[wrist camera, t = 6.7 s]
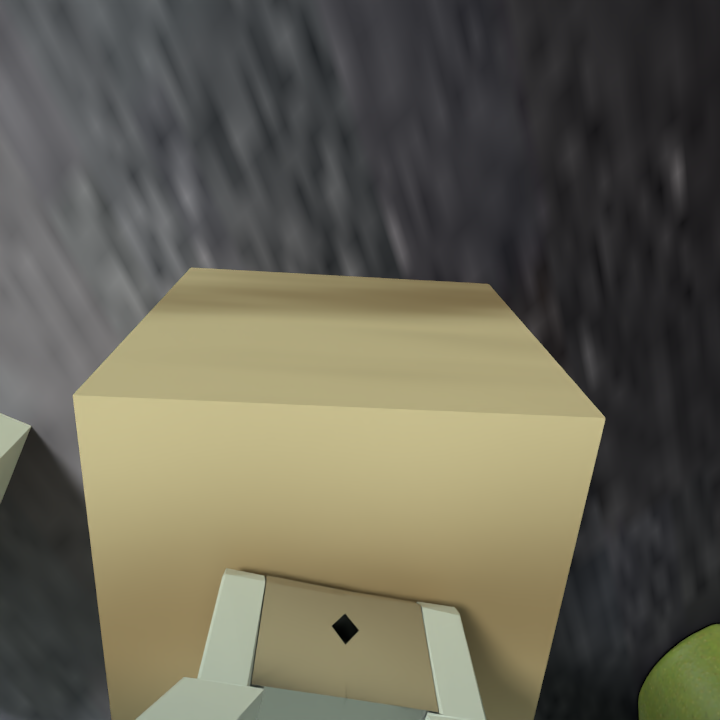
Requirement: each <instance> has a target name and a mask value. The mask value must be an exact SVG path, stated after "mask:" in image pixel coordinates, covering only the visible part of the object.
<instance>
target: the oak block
mask: <svg viewBox="0 0 720 720" xmlns="http://www.w3.org/2000/svg"><path fill="white" fill-rule="evenodd" d="M73 401H74V409H75V418H76V426H77V434H78V443H79V451H80V459H81V468H82V476H83V484H84V493H85V501H86V510H87V518H88V526H89V535H90V543H91V551H92V560H93V568H94V577H95V585H96V593H97V602H98V610H99V618H100V627H101V635H102V643H103V652H104V660H105V669H106V677H107V685H108V694H109V702H110V710H111V719H112V720H135V719H136V718H138V717H139V716H140V715H141V714H142V713H143V712H144V711H146V710H147V709H148V708H149V707H150V706H151V705H152V704H153V703H155V702H156V701H157V700H158V699H159V698H160V697H161V696H163V695H164V694H165V693H166V692H167V691H168V690H169V689H171V688H172V687H173V686H174V685H175V684H176V683H177V682H179V681H180V680H181V679H182V678H183V677H188V678H196V679H197V677H198V673H199V669H200V665H201V661H202V657H203V653H204V649H205V645H206V641H207V637H208V633H209V628H210V624H211V620H212V616H213V612H214V608H215V604H216V600H217V596H218V592H219V588H220V584H221V580H222V576H223V574H224V572H225V570H226V568H228V569H233V570H238V571H244V572H249V573H254V574H259V575H264V576H265V579H266V576H267V575H268V576H273V577H278V578H283V579H289V580H294V581H299V582H304V583H309V584H314V585H319V586H324V587H329V588H335V589H340V590H346V591H352V592H358V593H364V594H370V595H376V596H382V597H389V598H395V599H401V600H407V601H413V602H424V603H431V604H438V605H444V606H451V607H455V608H456V609H457V611H458V612H459V613H460V617H461V621H462V624H463V628H464V632H465V636H466V640H467V644H468V648H469V652H470V656H471V660H472V664H473V668H474V672H475V676H476V680H477V684H478V687H479V691H480V695H481V699H482V703H483V707H484V711H485V715H486V719H487V720H534V716H535V711H536V707H537V703H538V699H539V695H540V690H541V686H542V682H543V678H544V674H545V670H546V665H547V661H548V657H549V653H550V649H551V644H552V640H553V636H554V632H555V628H556V623H557V619H558V615H559V611H560V607H561V603H562V598H563V594H564V590H565V586H566V582H567V577H568V573H569V569H570V565H571V561H572V557H573V552H574V548H575V544H576V540H577V536H578V531H579V527H580V523H581V519H582V515H583V510H584V506H585V502H586V498H587V494H588V490H589V485H590V481H591V477H592V473H593V469H594V464H595V460H596V456H597V452H598V448H599V443H600V439H601V435H602V431H603V427H604V423H605V417H604V416H603V414H602V413H601V412H600V411H599V410H598V409H597V408H596V406H595V405H594V404H593V403H592V402H591V401H590V400H589V398H588V397H587V396H586V395H585V394H584V393H583V392H582V390H581V389H580V388H579V387H578V386H577V385H576V384H575V382H574V381H573V380H572V379H571V378H570V377H569V376H568V374H567V373H566V372H565V371H564V370H563V369H562V368H561V366H560V365H559V364H558V363H557V362H556V361H555V360H554V358H553V357H552V356H551V355H550V354H549V353H548V351H547V350H546V349H545V348H544V347H543V346H542V345H541V343H540V342H539V341H538V340H537V339H536V338H535V337H534V335H533V334H532V333H531V332H530V331H529V330H528V329H527V327H526V326H525V325H524V324H523V323H522V322H521V321H520V319H519V318H518V317H517V316H516V315H515V314H514V313H513V311H512V310H511V309H510V308H509V307H508V306H507V305H506V303H505V302H504V301H503V300H502V299H501V298H500V297H499V295H498V294H497V293H496V292H495V291H494V290H493V289H492V287H491V286H490V285H489V284H479V283H461V282H442V281H424V280H406V279H388V278H370V277H351V276H333V275H315V274H297V273H279V272H261V271H242V270H224V269H206V268H190V269H189V270H188V271H187V272H186V273H185V274H184V276H183V277H182V278H181V279H180V280H179V281H178V282H177V283H176V284H175V285H174V286H173V287H172V289H171V290H170V291H169V292H168V293H167V294H166V295H165V296H164V297H163V298H162V299H161V300H160V302H159V303H158V304H157V305H156V306H155V307H154V308H153V309H152V310H151V311H150V312H149V313H148V314H147V316H146V317H145V318H144V319H143V320H142V321H141V322H140V323H139V324H138V325H137V326H136V327H135V329H134V330H133V331H132V332H131V333H130V334H129V335H128V336H127V337H126V338H125V339H124V340H123V342H122V343H121V344H120V345H119V346H118V347H117V348H116V349H115V350H114V351H113V352H112V353H111V354H110V356H109V357H108V358H107V359H106V360H105V361H104V362H103V363H102V364H101V365H100V366H99V367H98V369H97V370H96V371H95V372H94V373H93V374H92V375H91V376H90V377H89V378H88V379H87V380H86V381H85V383H84V384H83V385H82V386H81V387H80V388H79V389H78V390H77V391H76V392H75V393H74V394H73Z"/></svg>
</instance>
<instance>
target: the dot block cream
mask: <svg viewBox="0 0 720 720" xmlns="http://www.w3.org/2000/svg"><path fill="white" fill-rule="evenodd" d="M30 428H31V426H30V425H27V424H25V423H23V422H20V421H18V420H15V419H13V418H11V417H8V416H6V415H3V414H1V413H0V504H1V501H2V499H3V496H4V494H5V491H6V489H7V486H8V484H9V481H10V479H11V476H12V474H13V471H14V469H15V466H16V464H17V461H18V458H19V456H20V453H21V451H22V448H23V446H24V443H25V441H26V438H27V436H28V433H29V431H30Z"/></svg>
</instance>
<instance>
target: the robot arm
mask: <svg viewBox="0 0 720 720" xmlns="http://www.w3.org/2000/svg"><path fill="white" fill-rule="evenodd" d="M135 720H487V719H486V715H485V711H484V707H483V703H482V699H481V695H480V691H479V687H478V684H477V680H476V676H475V672H474V668H473V664H472V660H471V656H470V652H469V648H468V644H467V640H466V636H465V632H464V628H463V624H462V621H461V617H460V613H459V612H458V611H457V609H456V608H455V607H451V606H444V605H438V604H431V603H424V602H413V601H407V600H401V599H395V598H389V597H382V596H376V595H370V594H364V593H358V592H352V591H346V590H340V589H335V588H329V587H324V586H319V585H314V584H309V583H304V582H299V581H294V580H289V579H283V578H278V577H273V576H268V575H267V576H266V579H265V576H264V575H259V574H254V573H249V572H244V571H238V570H233V569H228V568H226V570H225V572H224V574H223V576H222V580H221V584H220V588H219V592H218V596H217V600H216V604H215V608H214V612H213V616H212V620H211V624H210V628H209V633H208V637H207V641H206V645H205V649H204V653H203V657H202V661H201V665H200V669H199V673H198V677H197V679H196V678H188V677H183V678H182V679H181V680H180V681H179V682H177V683H176V684H175V685H174V686H173V687H172V688H171V689H169V690H168V691H167V692H166V693H165V694H164V695H163V696H161V697H160V698H159V699H158V700H157V701H156V702H155V703H153V704H152V705H151V706H150V707H149V708H148V709H147V710H146V711H144V712H143V713H142V714H141V715H140V716H139V717H138V718H136V719H135Z"/></svg>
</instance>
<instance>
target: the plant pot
mask: <svg viewBox="0 0 720 720" xmlns="http://www.w3.org/2000/svg"><path fill="white" fill-rule="evenodd" d="M638 710H639V720H720V624H714V625H711V626H708V627H706V628H704V629H702V630H700V631H698V632H696V633H694V634H693V635H691V636H689V637H688V638H686V639H685V640H683V641H682V642H680V643H679V644H677V645H676V646H675V647H674V648H673V649H671V650H670V651H669V652H668V653H667V654H666V655H665V656H664V657H663V658H662V659H661V660H660V661H659V662H658V663H657V664H656V665H655V667H654V668H653V669H652V670H651V672H650V673H649V675H648V677H647V678H646V680H645V682H644V684H643V686H642V688H641V691H640V694H639V699H638Z"/></svg>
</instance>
